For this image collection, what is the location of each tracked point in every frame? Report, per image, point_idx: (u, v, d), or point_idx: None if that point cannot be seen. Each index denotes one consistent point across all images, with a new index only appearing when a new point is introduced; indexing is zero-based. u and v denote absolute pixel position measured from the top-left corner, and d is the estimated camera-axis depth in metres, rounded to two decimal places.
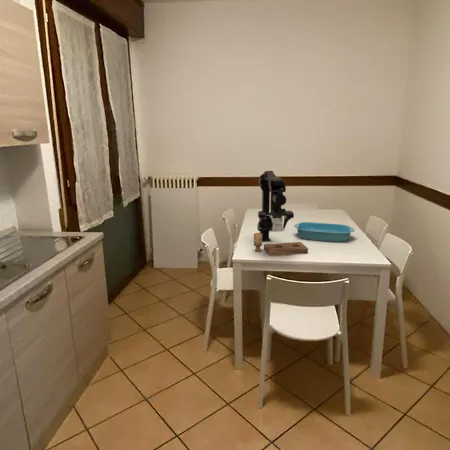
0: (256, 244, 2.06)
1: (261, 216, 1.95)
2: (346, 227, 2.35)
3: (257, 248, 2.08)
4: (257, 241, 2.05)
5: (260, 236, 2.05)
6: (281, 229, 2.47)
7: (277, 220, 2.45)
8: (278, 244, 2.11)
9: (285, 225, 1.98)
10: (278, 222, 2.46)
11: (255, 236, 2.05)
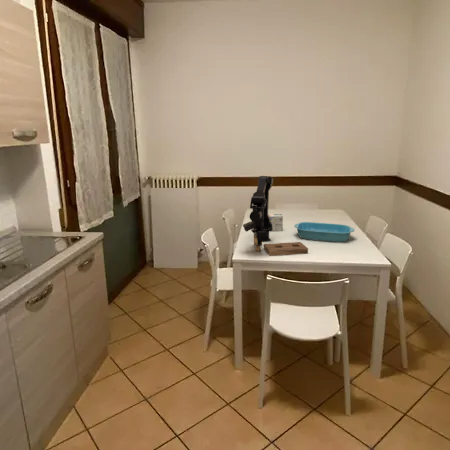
0: (256, 244, 2.06)
1: None
2: (346, 227, 2.35)
3: (257, 248, 2.08)
4: None
5: None
6: (281, 229, 2.47)
7: (277, 220, 2.45)
8: (278, 244, 2.11)
9: (257, 241, 2.04)
10: (279, 222, 2.46)
11: (255, 236, 2.05)
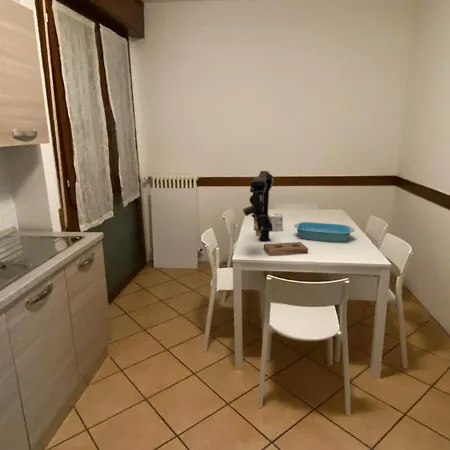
0: (256, 229, 2.04)
1: None
2: (346, 227, 2.35)
3: (257, 233, 2.05)
4: (257, 225, 2.03)
5: None
6: (281, 229, 2.47)
7: (277, 220, 2.45)
8: (278, 244, 2.11)
9: None
10: (279, 222, 2.46)
11: (255, 221, 2.03)
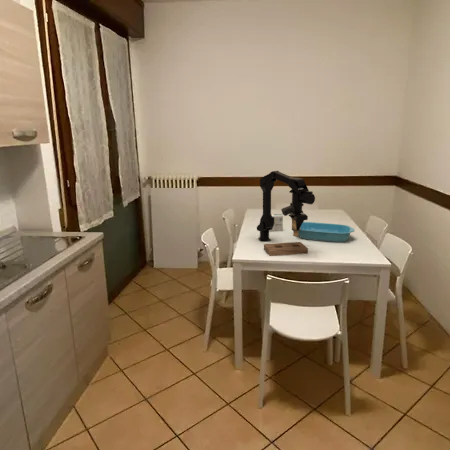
0: (294, 229, 2.03)
1: None
2: (346, 227, 2.35)
3: (295, 233, 2.04)
4: (295, 225, 2.02)
5: None
6: (281, 229, 2.47)
7: (277, 220, 2.45)
8: (278, 244, 2.11)
9: (296, 226, 2.01)
10: (278, 222, 2.46)
11: (294, 221, 2.02)
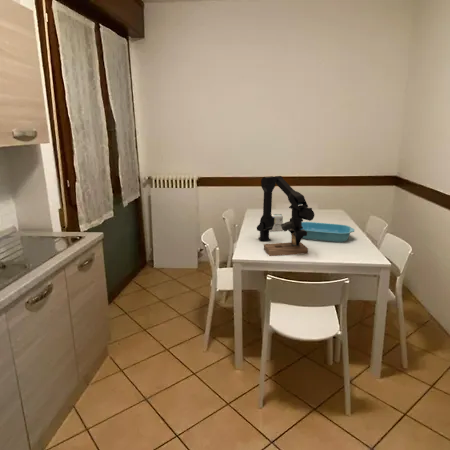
0: (294, 244, 2.05)
1: None
2: (347, 227, 2.35)
3: None
4: (295, 241, 2.05)
5: None
6: (281, 229, 2.47)
7: (277, 220, 2.45)
8: (278, 244, 2.11)
9: (296, 241, 2.03)
10: (279, 222, 2.46)
11: (293, 236, 2.04)
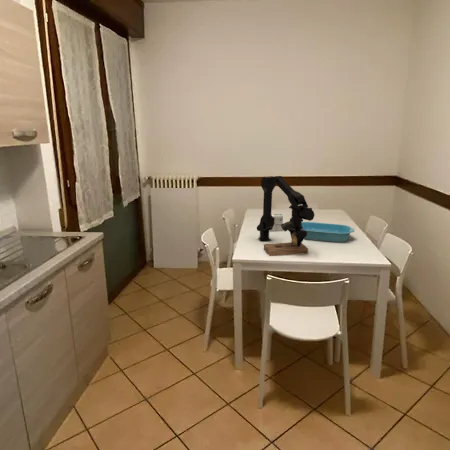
0: (294, 244, 2.05)
1: None
2: (347, 227, 2.34)
3: None
4: (295, 241, 2.05)
5: None
6: (281, 229, 2.47)
7: (277, 220, 2.45)
8: (278, 244, 2.11)
9: (297, 242, 2.01)
10: (278, 222, 2.46)
11: (293, 236, 2.04)
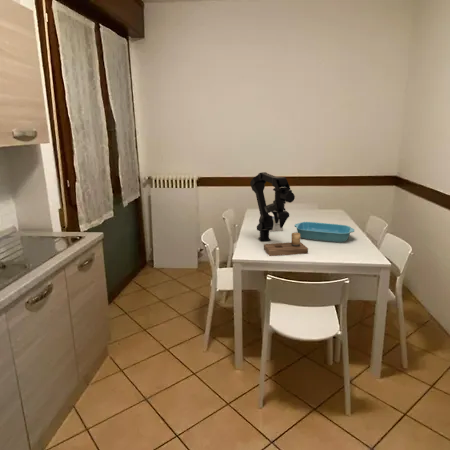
0: (294, 244, 2.05)
1: None
2: (347, 228, 2.34)
3: None
4: (295, 241, 2.05)
5: (298, 236, 2.04)
6: (281, 229, 2.47)
7: None
8: (278, 244, 2.11)
9: (280, 223, 2.07)
10: (279, 222, 2.46)
11: (293, 236, 2.04)
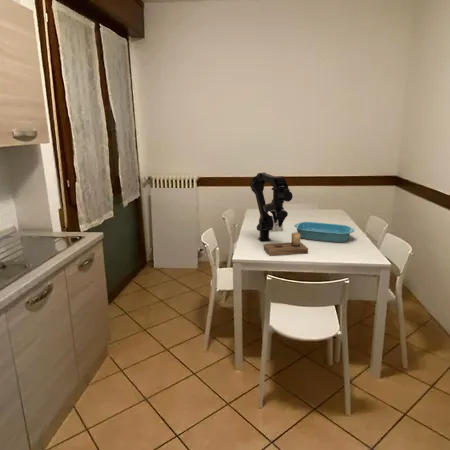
0: (294, 244, 2.05)
1: None
2: (347, 228, 2.34)
3: None
4: (295, 241, 2.05)
5: (298, 236, 2.04)
6: (281, 229, 2.47)
7: (277, 220, 2.45)
8: (278, 244, 2.11)
9: (278, 222, 2.08)
10: None
11: (293, 236, 2.04)
